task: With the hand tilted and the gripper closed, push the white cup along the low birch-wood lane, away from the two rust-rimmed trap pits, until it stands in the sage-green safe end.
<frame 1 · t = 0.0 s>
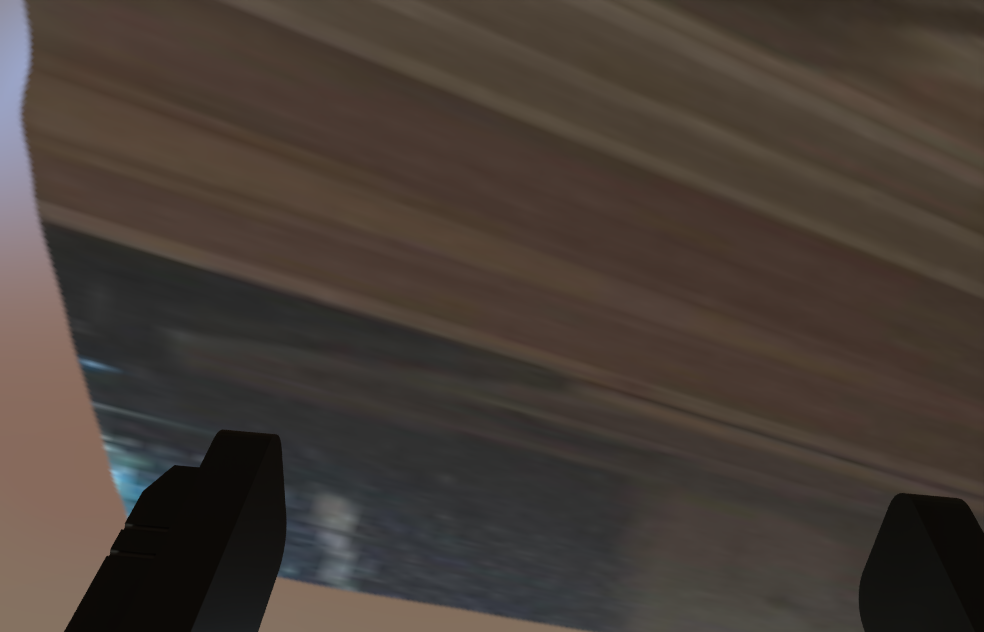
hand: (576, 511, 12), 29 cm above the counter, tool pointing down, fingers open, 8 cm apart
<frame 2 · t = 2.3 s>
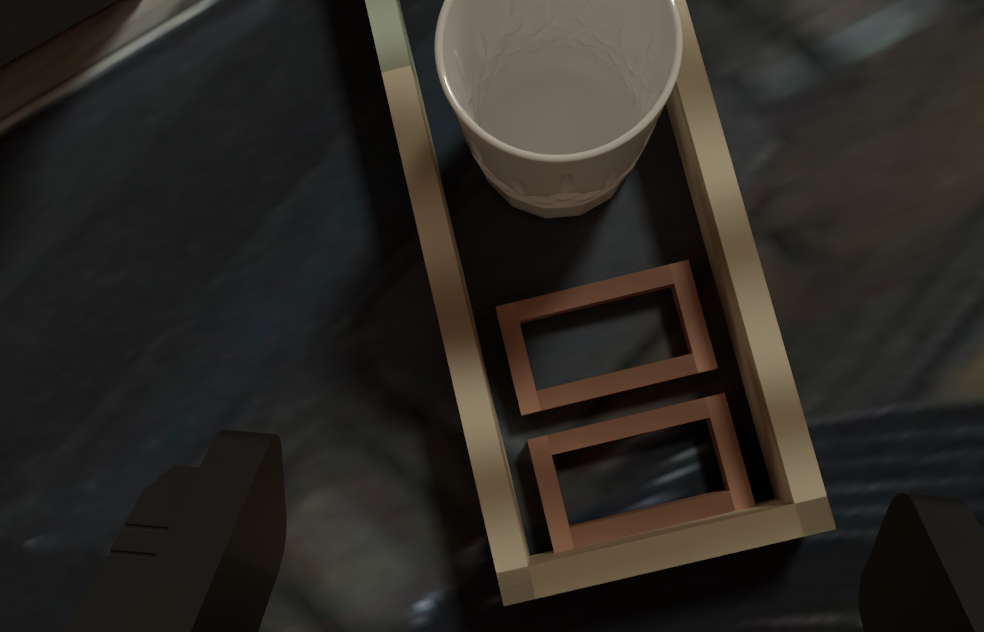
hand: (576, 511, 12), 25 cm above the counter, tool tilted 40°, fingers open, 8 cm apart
white cup: (556, 143, 39), resting in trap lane
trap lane: (561, 174, 39), on the counter
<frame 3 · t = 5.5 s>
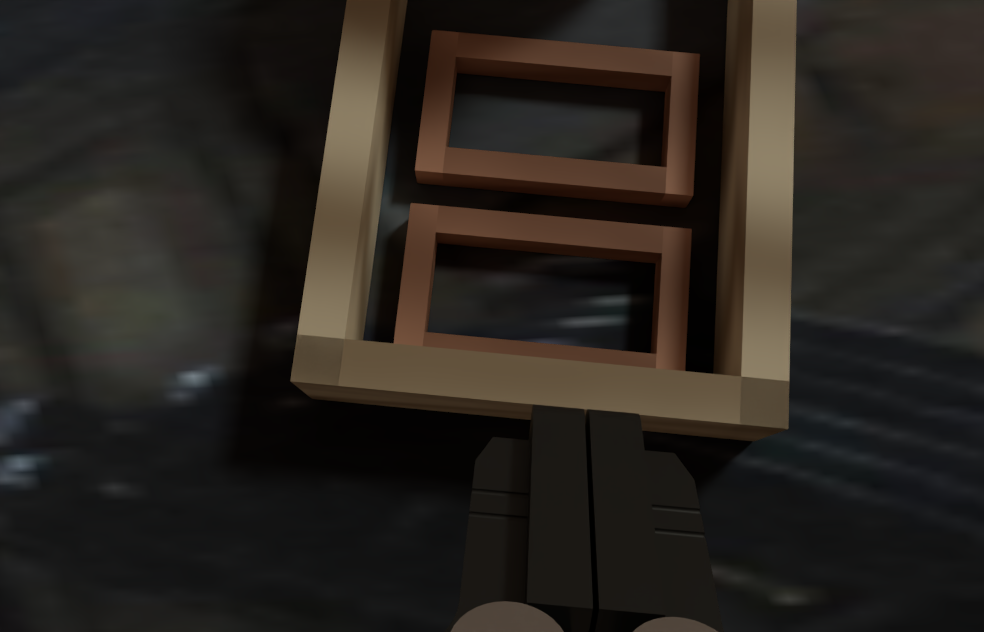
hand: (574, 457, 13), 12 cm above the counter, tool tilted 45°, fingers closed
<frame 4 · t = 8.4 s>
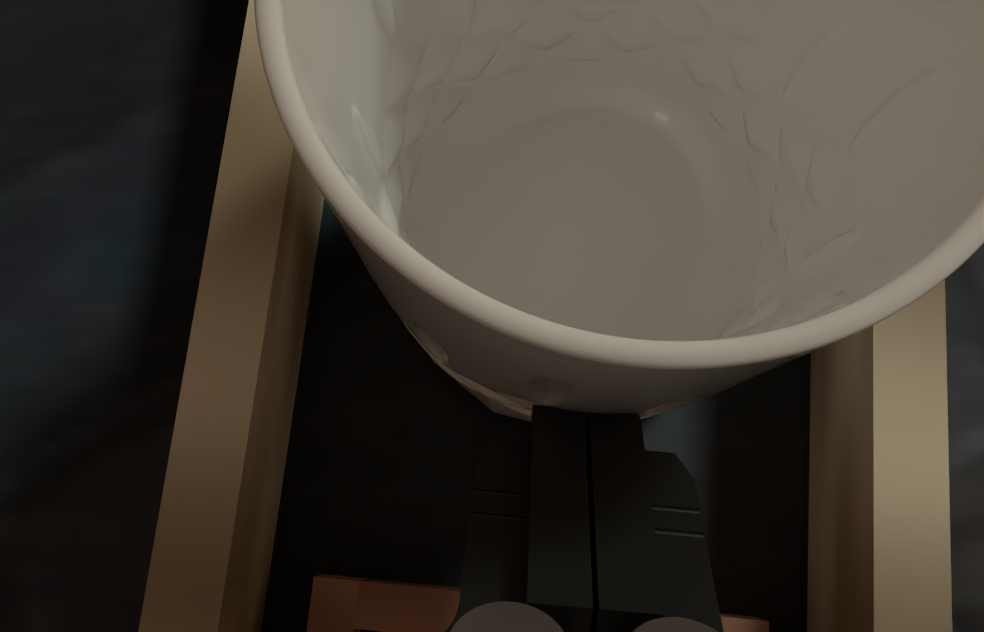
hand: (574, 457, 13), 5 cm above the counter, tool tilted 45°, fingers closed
white cup: (568, 267, 19), resting in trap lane, touching gripper
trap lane: (558, 333, 18), on the counter
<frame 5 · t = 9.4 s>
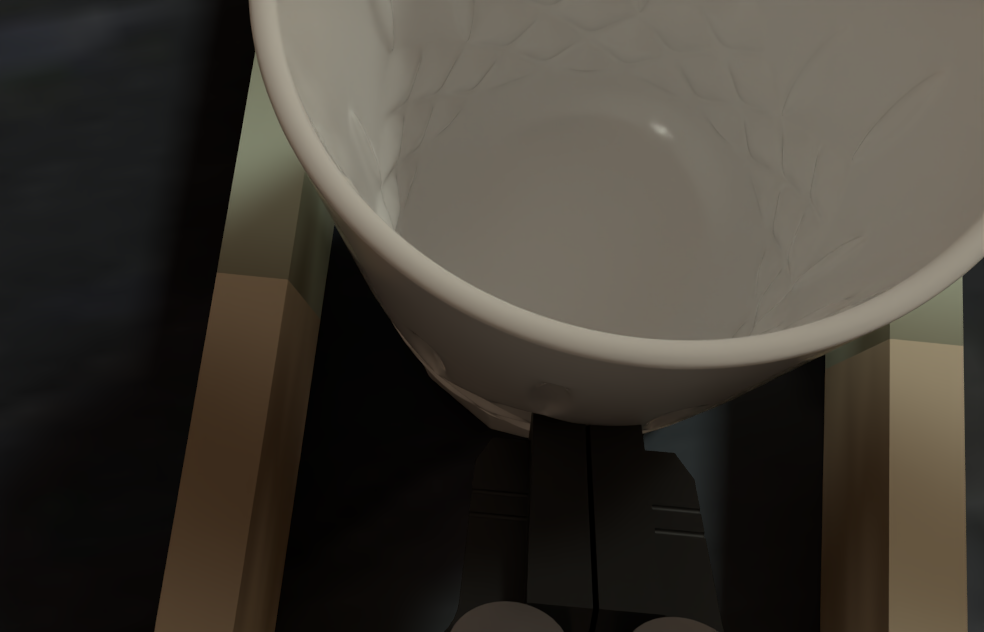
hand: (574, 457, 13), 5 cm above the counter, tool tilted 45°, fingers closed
white cup: (567, 282, 18), resting in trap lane, touching gripper
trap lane: (549, 607, 17), on the counter
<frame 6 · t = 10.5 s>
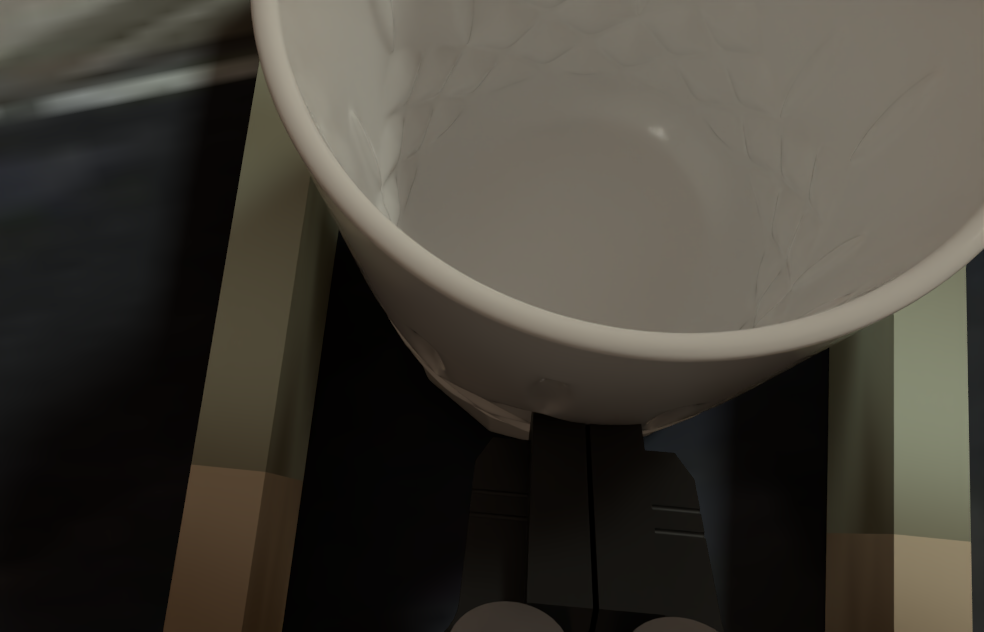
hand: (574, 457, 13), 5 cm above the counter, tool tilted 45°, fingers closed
white cup: (567, 285, 19), resting in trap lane, touching gripper
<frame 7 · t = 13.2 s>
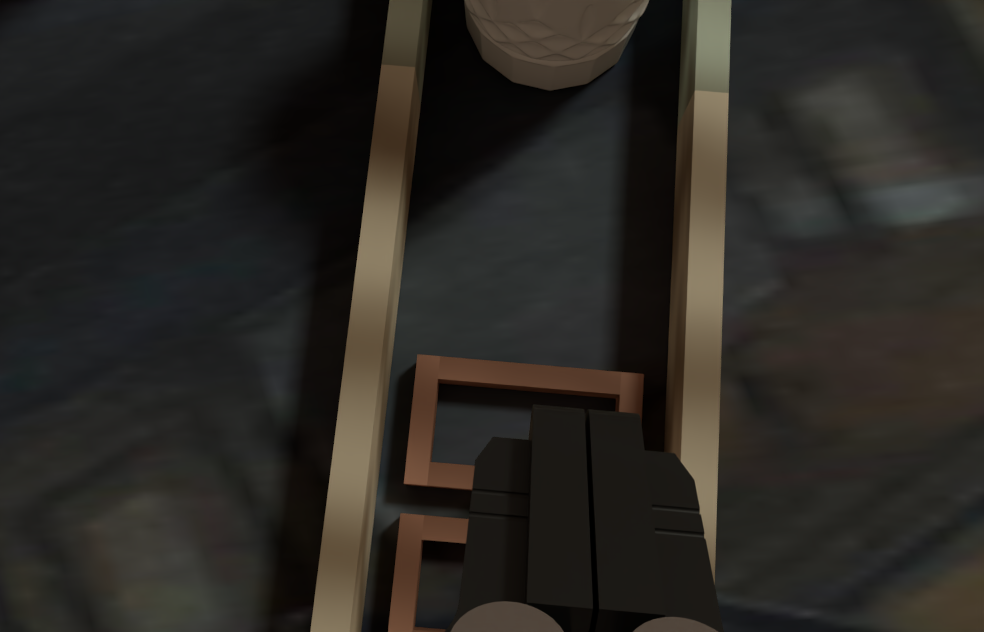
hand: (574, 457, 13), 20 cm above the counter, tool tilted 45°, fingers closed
white cup: (549, 17, 37), resting in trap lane
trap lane: (539, 238, 35), on the counter
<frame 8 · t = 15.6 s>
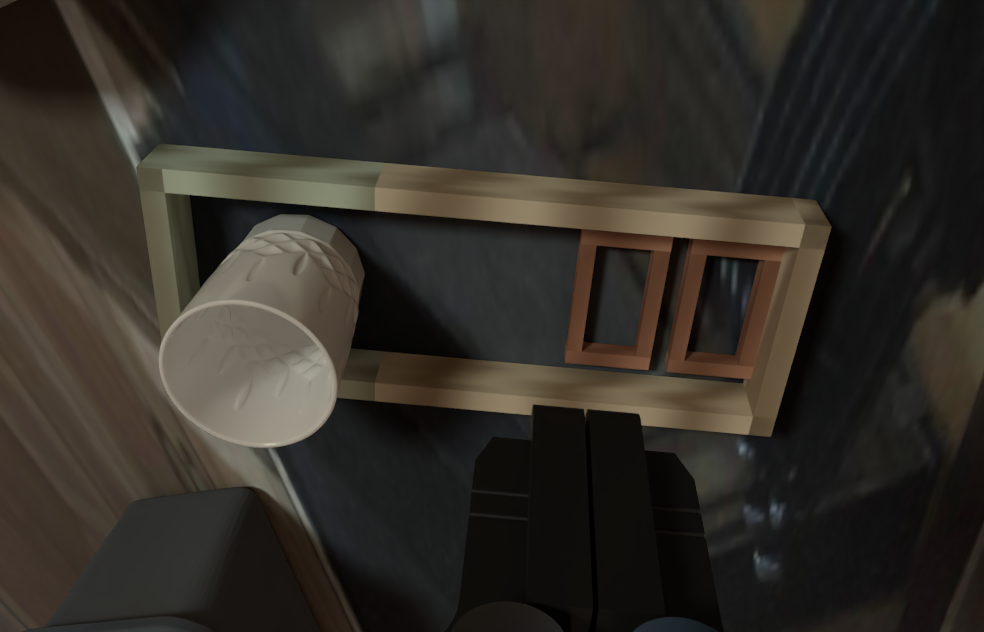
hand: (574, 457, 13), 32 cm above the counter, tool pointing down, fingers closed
white cup: (303, 268, 49), resting in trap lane
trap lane: (478, 281, 48), on the counter
storage bin: (225, 579, 62), on the counter
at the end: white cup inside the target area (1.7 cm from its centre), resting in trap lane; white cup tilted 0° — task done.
